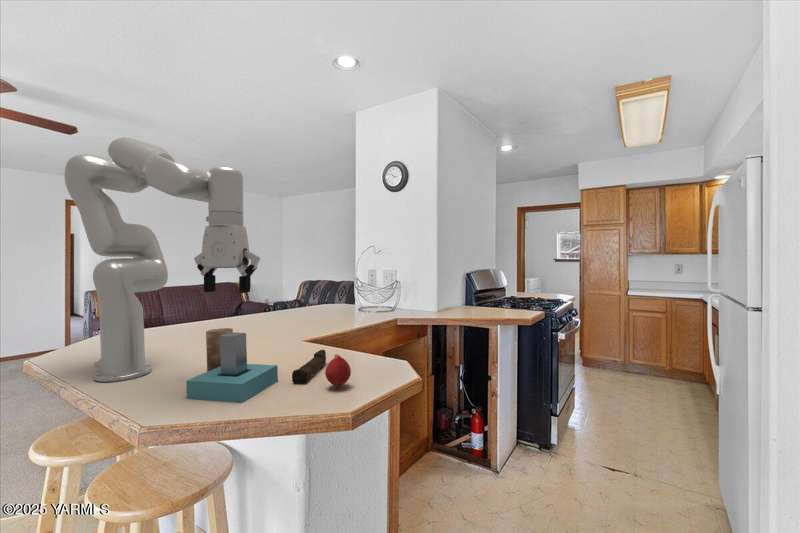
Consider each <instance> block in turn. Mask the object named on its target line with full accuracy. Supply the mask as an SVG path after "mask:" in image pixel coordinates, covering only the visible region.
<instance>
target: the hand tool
mask: <svg viewBox="0 0 800 533" xmlns="http://www.w3.org/2000/svg"><path fill="white" fill-rule="evenodd" d="M326 355H327V353H326V350H325V349H320V350H318V351H317V352H315V353H314V354H313V357H312V359H310V360H309V361H307V362H306V363H305V364H303V365H302V366H301V367H300V368H298V369H295V370H293V371H292V374H291V381H292V383H293V384H294V385H306V384H307V383H308V382H309V379H310V378H311V377H312V376H313V375H315V374H316V373H317V372H318V371H319V370H320V369H324V368H325V366H326V361H327V356H326Z"/></svg>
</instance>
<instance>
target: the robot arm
mask: <svg viewBox="0 0 800 533" xmlns="http://www.w3.org/2000/svg"><path fill="white" fill-rule="evenodd" d="M107 152H108V153H107V154H108V156H109V157H104V156H100V155H94V154H84V153H83V154H76V155H74V156H72V157H71V158H69V159H68V161H67V162H66V163H65V168H64V182H65V183H64V184H65V187H66V189H67V192H68V193H69V197H71V199H72V201H73V202H74V205H75V206H76V208H77V209H78V211H79V212H78V213H79V215H80V218H81V221H82V225H83V228H84V231H85V234H86V238H87V240H88V243H89V246H90V248H91V250H92V251H93V253H95V254H96V255H98V256H102V257H108V258H109V257H110V258H109V259H105V260H102V261H101V262H98V264H97V265H95V267H94V269H93V271H92V281H93V283H94V289H95V291H96V295H97V300H98V313H99V335H100V339H99V341H100V358H99V359H98V361H95V362H93V364H92V365H93V367H94V368H98V372H96V373H95V374H94V375H93V378H94V379H93V380H94V381H96V382H101V383H108V382H110V383H111V382H119V381H125V380H131V379H135V378H136V379H137V378H140V377H142V376H146V375H147V374H148V375H149V373H151V372H152V371H153V365H151V364H146V351H145V350H146V348H145V347H146V346H145V323H144V321H145V319H144V309H143V305H142V303H141V301H140V299H138V297H137V296H136V294H135V293H144V292H153V291H158V290H160V289H162V288H164V286H166V285H167V283H168V279H169V274H168V267H167V264H166V262H165V258H164V255H163V253H162V250H161V246H160V243H159V240H158V237H157V236H156V234H155V232H154V231H153V230H152V229H150V228H149V227H148V226H146V225H143V224H138V223H137V224H136V223H127V222H126V221H124V219H123V218H122V216H121V212H120V210H119V209H120V208H119V207H118V206H117V204H116V203H115V202H114V200H113V199H112V198H111V197H110V196H109V195H108V194H106V193H105V192H104V191H103V190H109V191H115V192H123V193H128V194H135V193H140V192H142V191H144V190H146V189H147V188H149V187H152V188H153V189H156V190H158V191H160V192H162V193H164V194H167V195H169V196H172V197H176V198H181V199H187V200H193V201H197V202H198V201H199V202H204V203H208V205H207V206H208V208H207V209H208V216H206V217H205V221H206V222H207V223H208V225H205V229H204V230H203V231H204V233H203V238H202V247H201V253H200V254H198V255H196V256H195V257H194V258H193V259H194V262H195V264H196V265H197V266H196V268H197V269H198V270H199V272H200V275H202V276H203V292H204V293H211V292H215V291H216V287H217V285H216V275H215V274H214V273H215V272H216V270H217V269H234V268H236V270H237V271H238V272H239V274H240V275H239V277H238V283H239V284H238V285H239V286H238V287H239V288H238V292H239V293H240V294H247V293H250V292H251V287H252V286H251V284H252V283H251V277H252V276H253V275H254V272H256V270H257V269H258V265H259V263H260V260H261V257H260V256H258V255H256V254H255V253H253V252H251V251H250V248H249V247H250V246H249V238H248V234H247V228H246V226H244V179H243V178H244V177H243V174H242V172H241V171H240V170H239V169H237V168H233V167H227V166H216V167H215V166H214V167H212V168H210V169H209V171H207V170H205V169H204V170H203V169H200V168H198V167H194V166H193V167H192V166H188V165H185V164H182V163H178V162H175V161H176V160H175V159H174V157H173V156H172V155H171V154H170V153H169V152H168V151H167V150H166V149H164V148H163V147H161V146H159V145H155V144H152V143H148V142H145V141H141V140H139V139H136V138H131V137H120V138H115V139H113V141H111V142H110V143H109V145H108V149H107ZM118 257H119V258H118ZM120 257H121V258H120ZM249 263H250V264H249Z"/></svg>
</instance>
